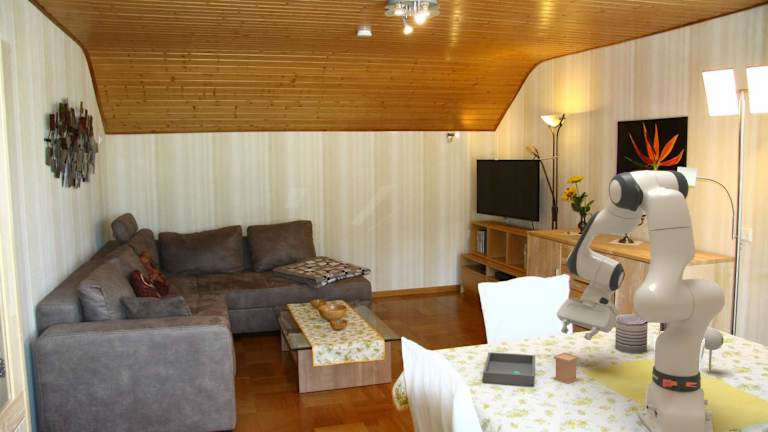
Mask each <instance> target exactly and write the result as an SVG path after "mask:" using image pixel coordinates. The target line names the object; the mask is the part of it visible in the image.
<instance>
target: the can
mask: <svg viewBox="0 0 768 432" xmlns="http://www.w3.org/2000/svg"><path fill="white" fill-rule="evenodd" d="M648 325H649V322H648V321H644V320H642V319H641V318H640V317H639V316H638V314H637V313H636V314H635V313H629V314H620V315H617V316H616V322H615V343H614V345H615V347H614V348H615V350H616V351H617V352H620V353H622V354H628V355H629V354H630V355H642V354H646V353H647V352H648V329H649V327H648Z"/></svg>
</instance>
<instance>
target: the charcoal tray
mask: <svg viewBox="0 0 768 432" xmlns="http://www.w3.org/2000/svg"><path fill="white" fill-rule="evenodd" d="M515 371H518V372H519V373H520V374H512V373H513V372H515ZM535 375H536V355H535V354H522V353H505V352H504V353H503V352H490V351H489V352H487V356H486V361H485V364H484V367H483V371H482V382H483V383H484V384H490V385H491V384H493V385H494V384H495V385H507V386H520V387H535ZM483 383H482V384H483Z"/></svg>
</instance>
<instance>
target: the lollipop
mask: <svg viewBox="0 0 768 432" xmlns="http://www.w3.org/2000/svg"><path fill="white" fill-rule="evenodd" d="M703 338H705V348H704V349H706V350H708V351H709V352H708V353H709V354H708V373H709V374H711V371H712V354H713V353H712V352H713V351H716V350H718V349H720V348H721V347H722V346H723V344H724V336H723V334H722V332H720V330H718V329H716V328H714V327H708V328H707V330H706V332H705V334H704V337H703Z"/></svg>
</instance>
